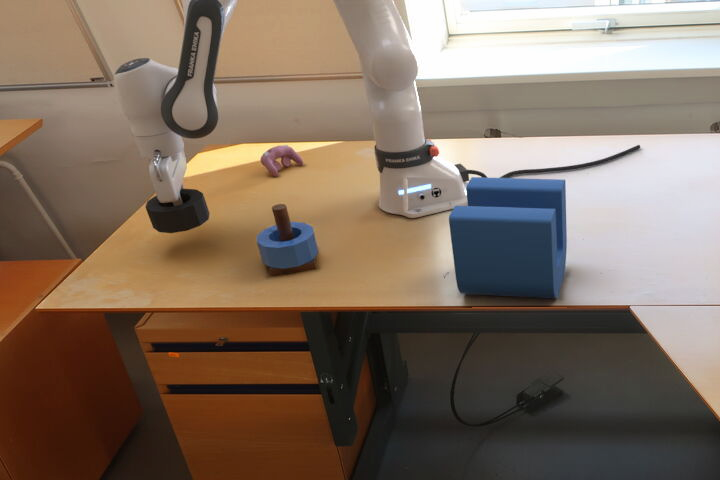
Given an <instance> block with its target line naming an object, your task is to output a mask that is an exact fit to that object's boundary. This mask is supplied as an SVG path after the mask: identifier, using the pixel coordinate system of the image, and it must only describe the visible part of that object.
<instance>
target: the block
mask: <svg viewBox="0 0 720 480" xmlns="http://www.w3.org/2000/svg"><path fill="white" fill-rule="evenodd" d="M467 183H468V184H467V187H466V192H467V201H468V205H467V206H455V207H454V209H451V212H450V214H449V216H448V225H449V232H450V233H449V234H450V240H451V241H450V242H451V249H452V258H453V265H454V273H455V275H454V276H455V282H456V286H457V290H458V291H459V293H460V294H462V295H463V294H464V295H481V296H503V297H518V298H519V297H521V298H522V297H523V298H524V297H525V298H539V299H542V298H543V299H558V297H559V295H560V290H561V287H562V283H563V280H564V276H565V272H566V271H565V270H566V262H567V247H568V246H567V245H568V240H567V239H568V238H567V237H568V235H567V231H568V230H567V193H566V192H567V190H566V188H567V187H566V179H557V178H520V177H519V178H517V177H516V178H515V177H508V178H500V177H488V178H486V177H481V176H472V177H470V178H469V181H468V182H467Z"/></svg>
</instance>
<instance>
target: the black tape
mask: <svg viewBox="0 0 720 480" xmlns="http://www.w3.org/2000/svg"><path fill="white" fill-rule="evenodd" d="M180 196H181V199H183V202H184V203H183V204H181V205H178V206H174V204H173V202H167V203H161V202H160V201H159V200H158V198H157V195H156V194H155V195H154V196H153V197H152V198H150V199H148V200H147V201H146V204H145V210H146V212H147V215H148V219H149V221H150V223H151V225H152V226H151V227H152V228H153V229H154V230H155V231H157V232H158V233H163V234H176V233H182V232H187V231H190V230H193V229H195V228H198V227H200V226H202V225H203V224H205V223H206V222H207V221H209V219H210V210H209V207H208V203H207V201H206V198H205V196H204V193H203V192H202V191H200V190H199V189H195V188H184V189H180Z"/></svg>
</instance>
